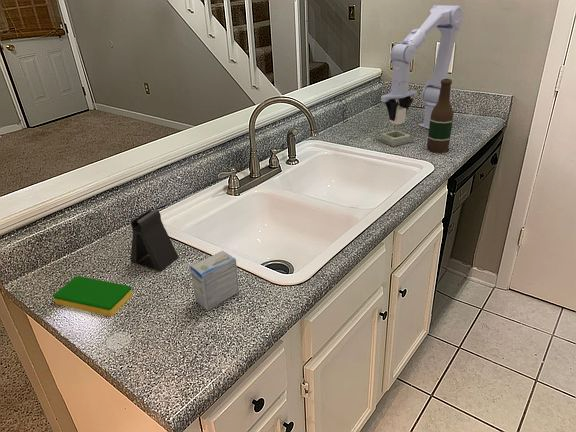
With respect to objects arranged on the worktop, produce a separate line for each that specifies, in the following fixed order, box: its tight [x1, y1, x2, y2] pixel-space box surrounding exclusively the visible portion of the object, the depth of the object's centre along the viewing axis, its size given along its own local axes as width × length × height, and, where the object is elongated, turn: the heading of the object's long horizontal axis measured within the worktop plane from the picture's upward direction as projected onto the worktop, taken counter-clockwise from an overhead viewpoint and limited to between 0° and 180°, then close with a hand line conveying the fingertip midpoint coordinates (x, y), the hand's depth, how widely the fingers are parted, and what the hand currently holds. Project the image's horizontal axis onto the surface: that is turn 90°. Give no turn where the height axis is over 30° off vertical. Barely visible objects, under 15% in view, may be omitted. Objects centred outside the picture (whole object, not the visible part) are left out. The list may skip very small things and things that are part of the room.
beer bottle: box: [426, 78, 454, 154], centre depth 152 cm, size 8×8×24 cm
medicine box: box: [189, 250, 240, 311], centre depth 88 cm, size 8×4×9 cm, turn 133°
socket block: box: [375, 129, 416, 148], centre depth 166 cm, size 10×10×2 cm
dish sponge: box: [52, 275, 134, 317], centre depth 91 cm, size 7×14×2 cm, turn 72°
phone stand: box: [130, 207, 179, 273], centre depth 100 cm, size 9×6×12 cm, turn 63°
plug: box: [388, 105, 407, 126], centre depth 162 cm, size 4×4×6 cm
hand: (397, 118), depth 163 cm, fingers closed on plug, 4 cm apart
